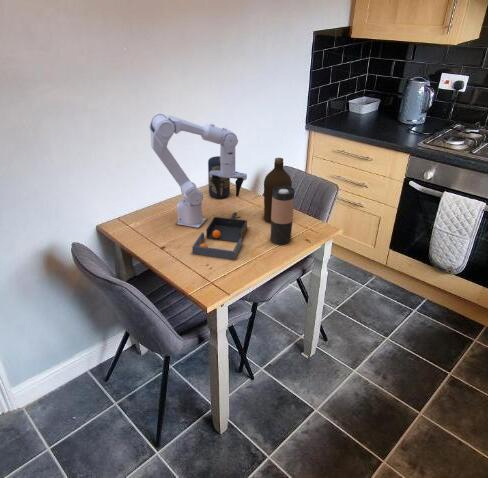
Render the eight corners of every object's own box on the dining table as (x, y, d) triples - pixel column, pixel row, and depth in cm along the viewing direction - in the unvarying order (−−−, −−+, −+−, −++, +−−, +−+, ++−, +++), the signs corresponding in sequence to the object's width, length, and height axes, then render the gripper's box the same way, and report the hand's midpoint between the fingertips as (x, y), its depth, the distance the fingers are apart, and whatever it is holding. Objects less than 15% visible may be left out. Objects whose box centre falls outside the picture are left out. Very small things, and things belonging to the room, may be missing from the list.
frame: (202, 239, 159) (201, 232, 158) (242, 244, 155) (242, 237, 154) (192, 253, 151) (192, 246, 149) (234, 259, 147) (234, 252, 145)
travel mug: (285, 247, 153) (289, 196, 143) (266, 242, 157) (268, 191, 147) (294, 238, 159) (298, 188, 149) (275, 233, 162) (278, 183, 152)
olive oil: (264, 225, 168) (267, 164, 155) (260, 213, 177) (262, 154, 165) (291, 224, 168) (296, 163, 156) (286, 212, 178) (290, 153, 165)
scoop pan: (240, 242, 157) (240, 233, 155) (206, 238, 160) (206, 229, 158) (251, 219, 172) (251, 210, 170) (220, 216, 176) (220, 207, 174)
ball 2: (220, 231, 157) (212, 230, 157) (219, 239, 158) (211, 238, 158) (221, 229, 160) (213, 228, 160) (220, 237, 161) (212, 236, 161)
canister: (207, 198, 190) (205, 159, 182) (210, 190, 199) (209, 152, 190) (228, 200, 189) (228, 160, 180) (231, 191, 197) (231, 153, 188)
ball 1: (201, 247, 149) (199, 241, 151) (199, 253, 151) (197, 247, 153) (209, 248, 150) (207, 242, 152) (206, 254, 152) (204, 248, 154)
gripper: (248, 160, 166) (248, 192, 172) (212, 157, 169) (213, 189, 176) (244, 166, 160) (244, 199, 167) (207, 163, 164) (208, 195, 170)
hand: (228, 194), depth 171 cm, fingers open, 7 cm apart
